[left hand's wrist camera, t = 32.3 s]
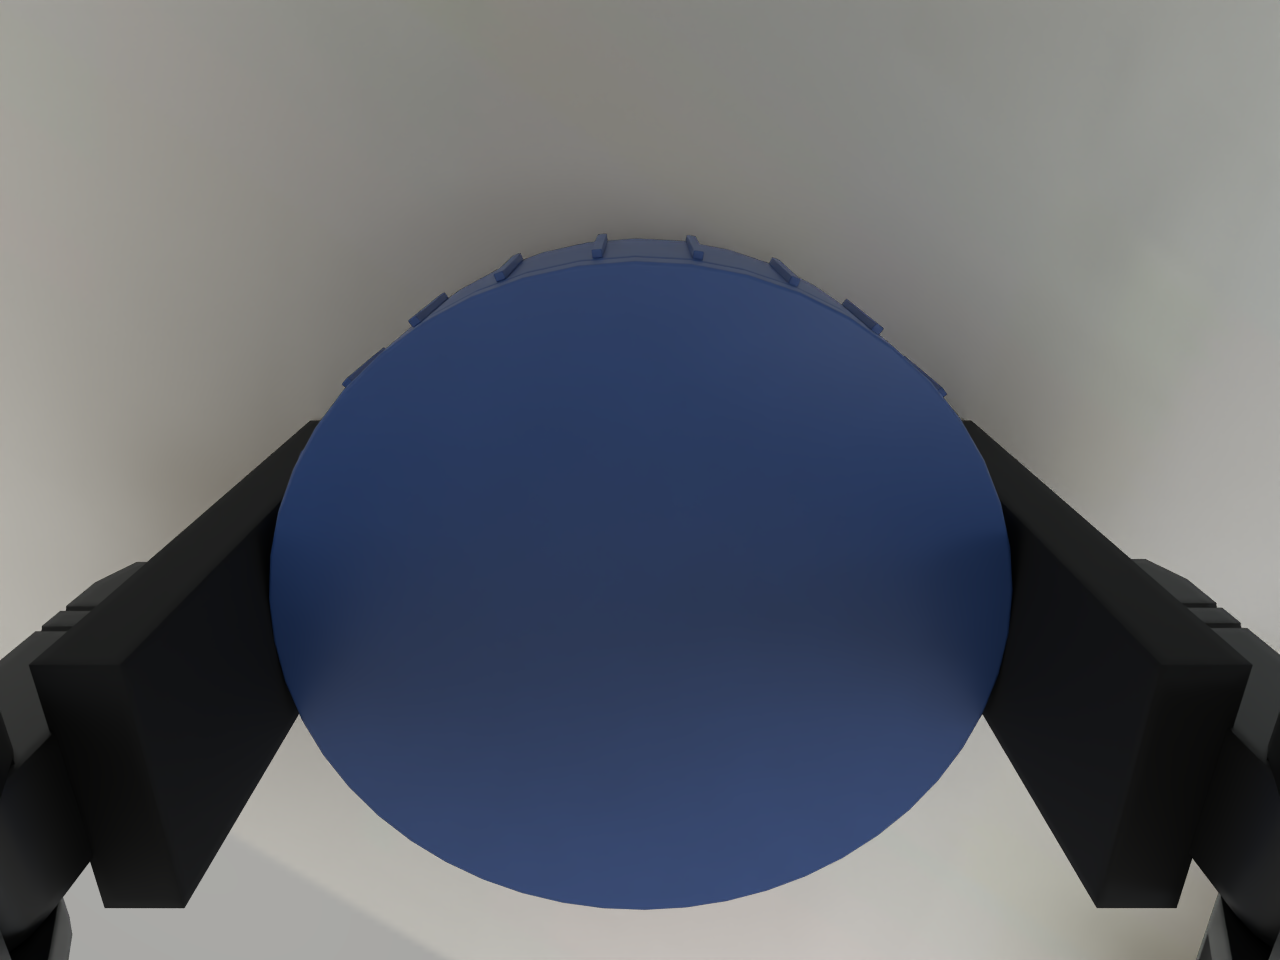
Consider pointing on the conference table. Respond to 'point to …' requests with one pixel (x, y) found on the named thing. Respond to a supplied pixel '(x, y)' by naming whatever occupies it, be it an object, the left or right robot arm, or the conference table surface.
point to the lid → (640, 578)
